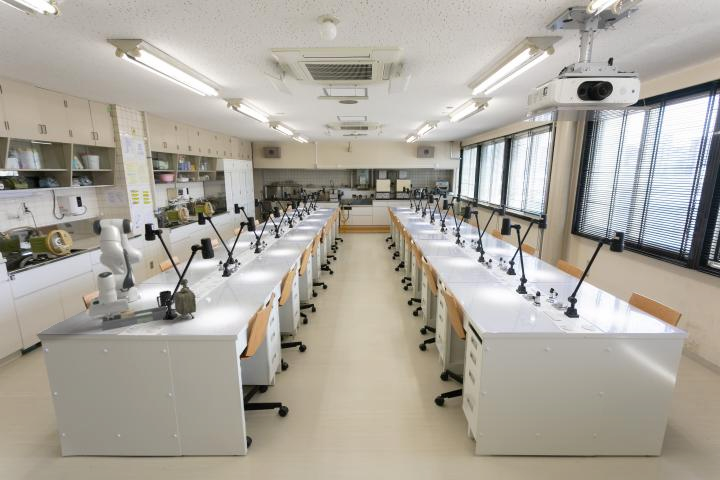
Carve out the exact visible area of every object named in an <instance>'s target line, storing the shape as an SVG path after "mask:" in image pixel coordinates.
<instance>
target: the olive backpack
mask: <svg viewBox="0 0 720 480" xmlns="http://www.w3.org/2000/svg"><path fill="white" fill-rule="evenodd" d="M181 284H182V288H180V289H179V290H180V291H177V292H174V294H175V295H174V294H173V299H174V300H173V301H174V309H175V311H176V312H177V313H178V314H179V315H182V316H181V319H184V318H185V315H190V316H191V319H194V318H195V316H194V315H193V313H196V312H197V303H196V295H195V292H194V291H193V290H191V289H189V288H188V287H187V285H186V284H187V283H186V282H185V281H184V280H182V282H181Z"/></svg>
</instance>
